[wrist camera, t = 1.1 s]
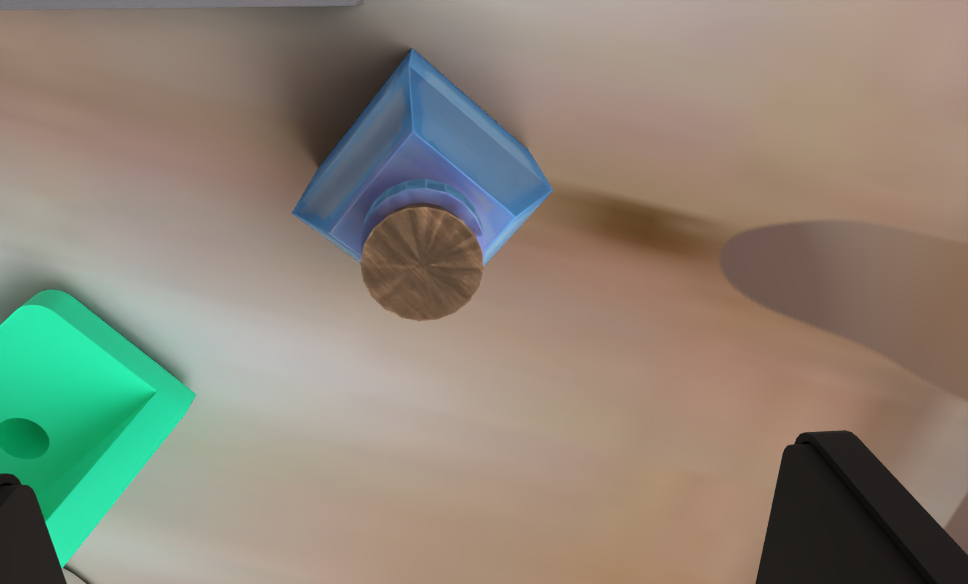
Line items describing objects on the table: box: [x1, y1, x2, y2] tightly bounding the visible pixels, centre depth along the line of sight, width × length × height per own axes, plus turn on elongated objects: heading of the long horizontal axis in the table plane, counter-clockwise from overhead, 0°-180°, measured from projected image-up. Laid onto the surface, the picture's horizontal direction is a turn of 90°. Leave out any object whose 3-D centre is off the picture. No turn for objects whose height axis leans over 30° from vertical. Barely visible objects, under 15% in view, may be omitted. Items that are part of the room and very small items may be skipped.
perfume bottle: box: [292, 48, 553, 321], centre depth 23 cm, size 6×6×12 cm
